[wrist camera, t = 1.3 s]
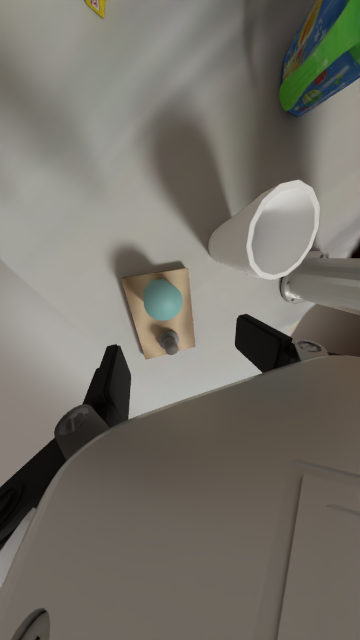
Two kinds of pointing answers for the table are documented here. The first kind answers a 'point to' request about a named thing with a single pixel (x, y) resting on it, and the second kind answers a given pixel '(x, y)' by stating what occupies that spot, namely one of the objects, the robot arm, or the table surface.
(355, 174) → the table surface
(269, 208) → the foam cup
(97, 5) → the candy box
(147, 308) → the cap
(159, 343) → the board
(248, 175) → the table surface
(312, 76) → the snack cup
